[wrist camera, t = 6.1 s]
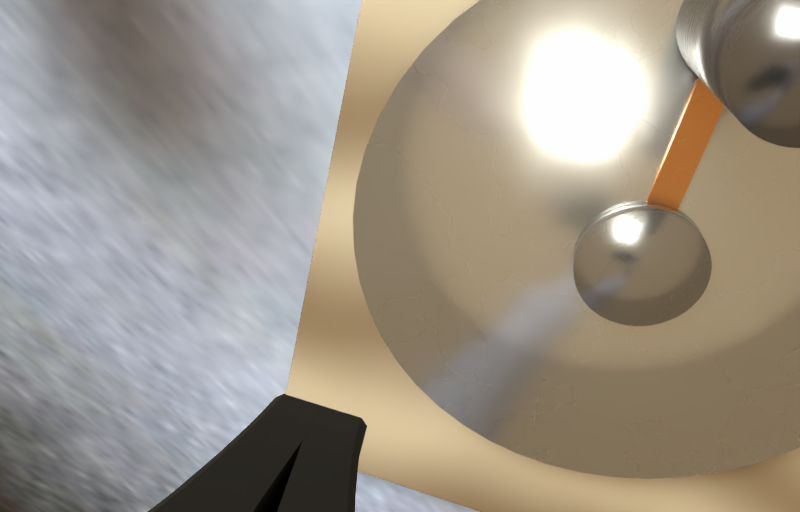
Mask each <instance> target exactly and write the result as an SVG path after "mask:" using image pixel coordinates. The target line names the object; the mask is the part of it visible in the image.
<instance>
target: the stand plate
mask: <svg viewBox="0 0 800 512" xmlns="http://www.w3.org/2000/svg"><path fill="white" fill-rule="evenodd" d="M476 1H477V0H362V3H361V8H360V13H359V18H358V23H357V28H356V34H355V39H354V44H353V49H352V54H351V59H350V65H349V70H348V75H347V80H346V85H345V90H344V96H343V101H342V106H341V111H340V116H339V121H338V127H337V132H336V137H335V142H334V147H333V152H332V158H331V163H330V168H329V173H328V178H327V183H326V188H325V194H324V199H323V204H322V209H321V214H320V219H319V225H318V230H317V235H316V240H315V245H314V250H313V256H312V261H311V266H310V271H309V276H308V281H307V287H306V292H305V297H304V302H303V307H302V312H301V318H300V323H299V328H298V333H297V338H296V343H295V349H294V354H293V359H292V364H291V369H290V374H289V380H288V385H287V390H286V395H289V396H292V397H295V398H299V399H302V400H305V401H308V402H312V403H315V404H318V405H321V406H325V407H328V408H331V409H334V410H338V411H341V412H344V413H347V414H351V415H354V416H357V417H360V418H362V419H363V421H364V422H365V424H366V425H367V429H366V433H365V437H364V441H363V444H362V448H361V452H360V456H359V463H358V470H357V471H359V472H362V473H365V474H368V475H371V476H374V477H377V478H380V479H383V480H386V481H389V482H392V483H395V484H398V485H401V486H404V487H407V488H410V489H413V490H416V491H420V492H423V493H426V494H429V495H432V496H435V497H438V498H441V499H444V500H447V501H450V502H453V503H456V504H459V505H462V506H465V507H468V508H471V509H474V510H477V511H480V512H800V447H799V448H797V449H795V450H793V451H790V452H788V453H785V454H782V455H779V456H776V457H773V458H770V459H767V460H764V461H761V462H758V463H755V464H752V465H748V466H744V467H740V468H735V469H731V470H727V471H722V472H718V473H711V474H704V475H696V476H689V477H680V478H656V479H640V478H620V477H609V476H602V475H595V474H588V473H581V472H577V471H573V470H568V469H564V468H560V467H556V466H552V465H548V464H545V463H542V462H539V461H537V460H534V459H531V458H528V457H525V456H522V455H519V454H517V453H515V452H513V451H511V450H508V449H506V448H504V447H502V446H500V445H498V444H495V443H493V442H491V441H489V440H488V439H486V438H484V437H483V436H481V435H479V434H477V433H476V432H474V431H472V430H471V429H469V428H467V427H466V426H464V425H463V424H461V423H460V422H459V421H457V420H456V419H455V418H453V417H452V416H451V415H449V414H448V413H447V412H445V411H444V410H443V409H441V408H440V407H439V406H438V405H437V404H436V403H435V402H434V401H433V400H431V399H430V398H429V397H428V396H427V395H426V394H425V393H424V392H423V391H422V390H421V389H420V388H419V387H418V386H417V385H416V384H415V383H414V382H413V380H412V379H411V378H410V377H409V376H408V374H407V373H406V372H405V371H404V369H403V368H402V367H401V366H400V365H399V363H398V362H397V361H396V359H395V357H394V356H393V354H392V353H391V351H390V350H389V348H388V347H387V345H386V343H385V342H384V340H383V339H382V337H381V335H380V333H379V331H378V329H377V327H376V324H375V322H374V320H373V318H372V316H371V314H370V312H369V310H368V306H367V303H366V300H365V297H364V294H363V291H362V288H361V284H360V281H359V276H358V270H357V265H356V259H355V253H354V238H353V211H354V202H355V192H356V184H357V180H358V176H359V172H360V168H361V164H362V160H363V156H364V152H365V149H366V146H367V144H368V141H369V139H370V136H371V134H372V132H373V129H374V127H375V124H376V122H377V119H378V117H379V115H380V113H381V111H382V110H383V108H384V106H385V105H386V103H387V101H388V99H389V98H390V96H391V94H392V92H393V91H394V89H395V87H396V85H397V84H398V82H399V81H400V80H401V78H402V77H403V76H404V74H405V73H406V72H407V71H408V69H409V68H410V67H411V65H412V64H413V63H414V62H415V60H416V59H417V58H418V56H419V55H420V54H421V52H422V51H423V50H424V49H425V48H426V47H427V46H428V45H429V43H430V42H431V41H432V40H433V39H434V38H435V37H436V36H437V35H438V34H439V33H440V32H441V31H442V30H444V29H445V28H446V27H447V26H448V25H449V24H450V23H451V22H452V21H453V20H454V19H455V18H456V17H457V16H458V15H459V14H460V13H461V12H463V11H464V10H465V9H466V8H468V7H469V6H470V5H472V4H473V3H474V2H476Z"/></svg>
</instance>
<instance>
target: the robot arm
mask: <svg viewBox="0 0 800 512" xmlns="http://www.w3.org/2000/svg"><path fill="white" fill-rule="evenodd" d="M366 429H367V425H366V424H365V422H364V421H363V419H362V418H360V417H357V416H354V415H351V414H347V413H344V412H341V411H338V410H334V409H331V408H328V407H325V406H321V405H318V404H315V403H312V402H308V401H305V400H302V399H299V398H295V397H292V396H289V395H286V394H283V395H280V396H278V397H276V398H275V399H274V400H273V401H272V402H271V403H270V404H269V405H268V406H267V407H266V408H265V409H264V411H263V412H262V413H261V414H260V415H259V416H258V417H257V418H256V419H255V420H254V421H253V422H252V423H251V424H250V425H249V426H248V427H246V428H245V429H244V430H243V431H242V432H241V433H240V434H239V435H238V436H237V437H236V438H235V439H234V440H233V441H232V442H230V443H229V444H228V445H227V446H226V447H225V448H224V449H223V450H222V451H221V452H220V453H218V454H217V455H216V456H215V457H214V458H213V459H212V460H210V461H209V462H208V463H207V464H206V465H205V466H203V467H202V468H201V469H200V470H199V471H197V472H196V473H195V474H194V475H193V476H192V477H190V478H189V479H188V480H187V481H186V482H185V483H183V484H182V485H181V486H180V487H179V488H178V489H176V490H175V491H174V492H173V493H171V494H170V495H169V496H168V497H166V498H165V499H164V500H162V501H161V502H160V503H159V504H157V505H156V506H155V507H153V508H152V509H151V510H149V511H148V512H355V493H356V481H357V470H358V463H359V456H360V452H361V448H362V444H363V441H364V437H365V433H366Z"/></svg>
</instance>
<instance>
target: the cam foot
mask: <svg viewBox="0 0 800 512" xmlns="http://www.w3.org/2000/svg"><path fill="white" fill-rule="evenodd" d="M353 238H354V253H355V259H356V265H357V270H358V276H359V281H360V284H361V288H362V291H363V294H364V297H365V300H366V303H367V306H368V310H369V312H370V314H371V316H372V318H373V320H374V322H375V324H376V327H377V329H378V331H379V333H380V335H381V337H382V339H383V340H384V342H385V343H386V345H387V347H388V348H389V350H390V351H391V353H392V354H393V356H394V357H395V359H396V361H397V362H398V363H399V365H400V366H401V367H402V368H403V369H404V371H405V372H406V373H407V374H408V376H409V377H410V378H411V379H412V380H413V382H414V383H415V384H416V385H417V386H418V387H419V388H420V389H421V390H422V391H423V392H424V393H425V394H426V395H427V396H428V397H429V398H430V399H431V400H433V401H434V402H435V403H436V404H437V405H438V406H439V407H440V408H441V409H443V410H444V411H445V412H447V413H448V414H449V415H451V416H452V417H453V418H455V419H456V420H457V421H459V422H460V423H461V424H463V425H464V426H466V427H467V428H469V429H471V430H472V431H474V432H476V433H477V434H479V435H481V436H483V437H484V438H486V439H488V440H489V441H491V442H493V443H495V444H498V445H500V446H502V447H504V448H506V449H508V450H511V451H513V452H515V453H517V454H519V455H522V456H525V457H528V458H531V459H534V460H537V461H539V462H542V463H545V464H548V465H552V466H556V467H560V468H564V469H568V470H573V471H577V472H581V473H588V474H595V475H602V476H609V477H620V478H640V479H656V478H680V477H689V476H696V475H704V474H711V473H718V472H722V471H727V470H731V469H735V468H740V467H744V466H748V465H752V464H755V463H758V462H761V461H764V460H767V459H770V458H773V457H776V456H779V455H782V454H785V453H788V452H790V451H793V450H795V449H797V448H799V447H800V0H477V1H476V2H474V3H473V4H472V5H470V6H469V7H468V8H466V9H465V10H464V11H463V12H461V13H460V14H459V15H458V16H457V17H456V18H455V19H454V20H453V21H452V22H451V23H450V24H449V25H448V26H447V27H446V28H445V29H444V30H442V31H441V32H440V33H439V34H438V35H437V36H436V37H435V38H434V39H433V40H432V41H431V42H430V43H429V45H428V46H427V47H426V48H425V49H424V50H423V51H422V52H421V54H420V55H419V56H418V58H417V59H416V60H415V62H414V63H413V64H412V65H411V67H410V68H409V69H408V71H407V72H406V73H405V74H404V76H403V77H402V78H401V80H400V81H399V82H398V84H397V85H396V87H395V89H394V91H393V92H392V94H391V96H390V98H389V99H388V101H387V103H386V105H385V106H384V108H383V110H382V111H381V113H380V115H379V117H378V119H377V122H376V124H375V127H374V129H373V132H372V134H371V136H370V139H369V141H368V144H367V146H366V149H365V152H364V156H363V160H362V164H361V168H360V172H359V176H358V180H357V184H356V192H355V202H354V211H353Z"/></svg>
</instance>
